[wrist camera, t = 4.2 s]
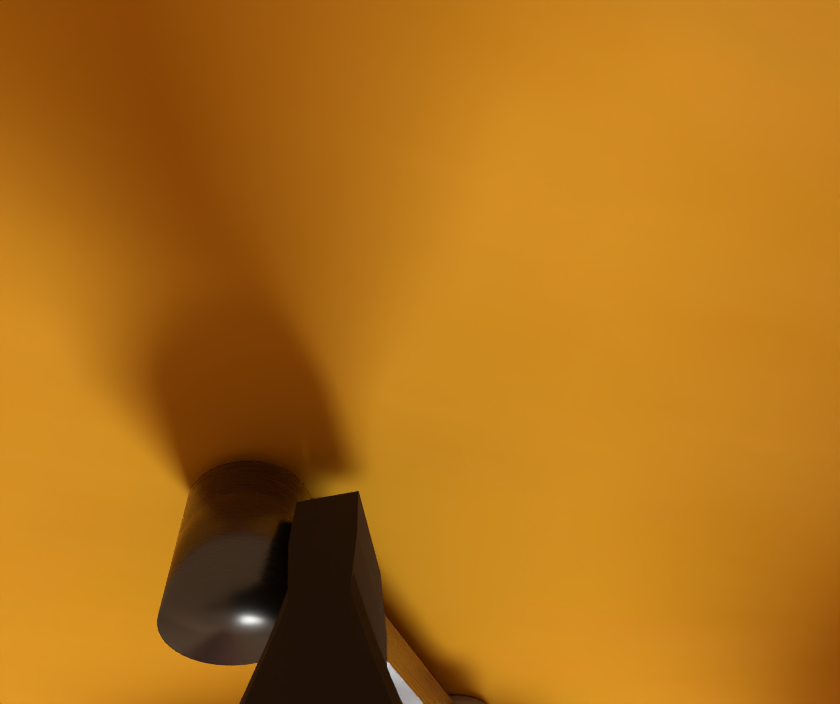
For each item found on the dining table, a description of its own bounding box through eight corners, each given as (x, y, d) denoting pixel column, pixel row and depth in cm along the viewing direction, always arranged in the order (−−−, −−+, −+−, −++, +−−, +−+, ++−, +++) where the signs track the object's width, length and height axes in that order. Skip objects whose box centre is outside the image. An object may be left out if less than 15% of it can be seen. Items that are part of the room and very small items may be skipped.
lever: (273, 444, 10) (259, 559, 8) (495, 738, 16) (516, 841, 14) (162, 488, 10) (125, 610, 8) (423, 761, 16) (434, 865, 15)
